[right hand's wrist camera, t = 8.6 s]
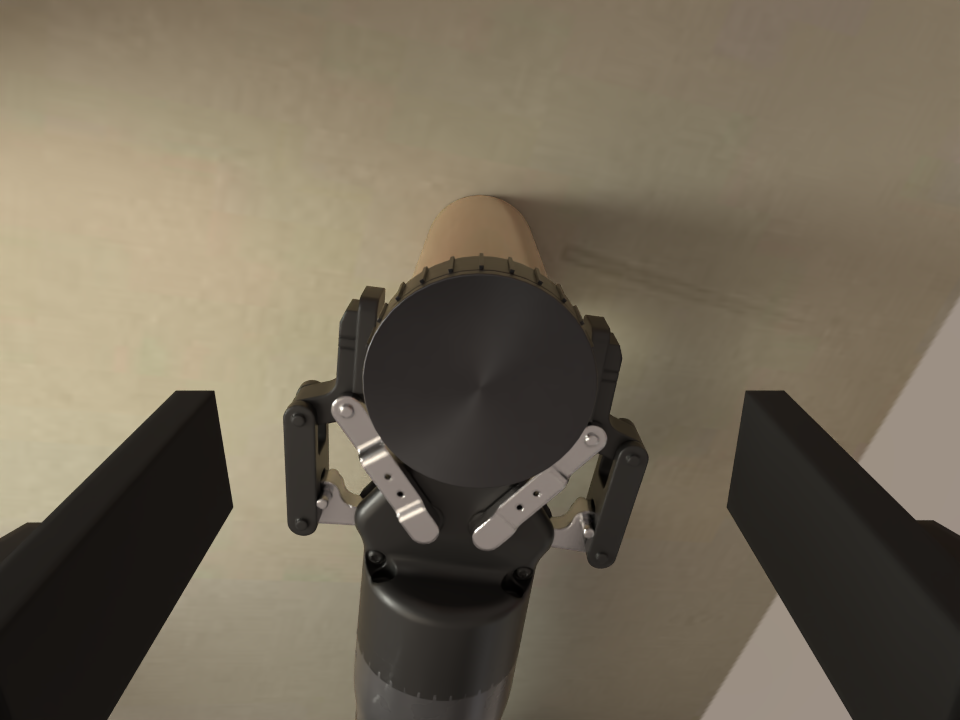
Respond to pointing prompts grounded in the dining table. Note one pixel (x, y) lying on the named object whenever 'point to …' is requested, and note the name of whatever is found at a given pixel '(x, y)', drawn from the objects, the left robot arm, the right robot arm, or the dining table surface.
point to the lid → (479, 373)
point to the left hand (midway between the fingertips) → (485, 306)
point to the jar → (479, 234)
